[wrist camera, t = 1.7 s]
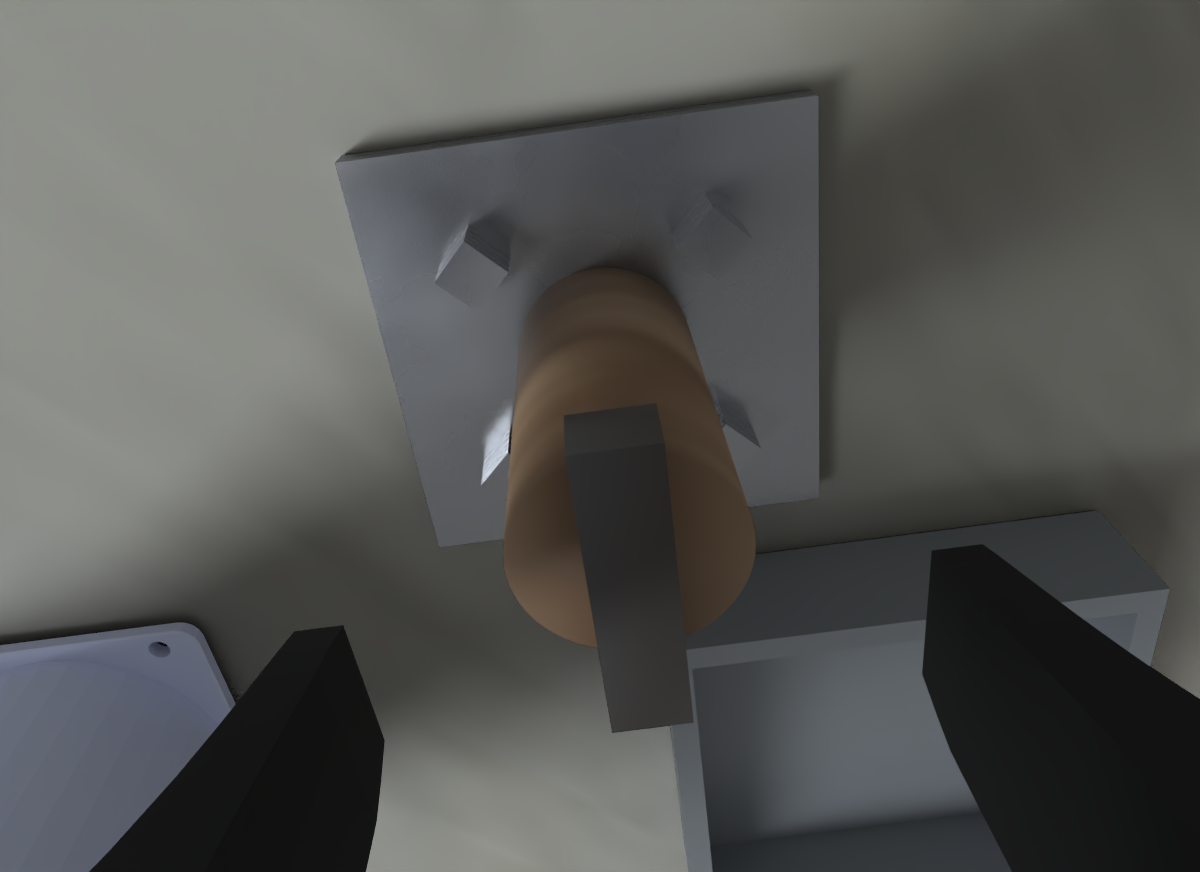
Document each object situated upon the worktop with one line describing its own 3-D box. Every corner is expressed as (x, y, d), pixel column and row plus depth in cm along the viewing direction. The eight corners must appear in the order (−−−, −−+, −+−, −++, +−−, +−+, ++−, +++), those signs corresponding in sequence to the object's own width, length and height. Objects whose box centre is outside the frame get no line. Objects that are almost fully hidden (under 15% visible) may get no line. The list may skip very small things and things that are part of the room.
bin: (684, 846, 28) (698, 941, 26) (650, 567, 23) (663, 652, 20) (1042, 802, 28) (1092, 893, 25) (1098, 510, 22) (1170, 588, 20)
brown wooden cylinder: (538, 457, 20) (531, 742, 13) (499, 251, 18) (465, 468, 11) (698, 436, 20) (775, 712, 13) (680, 226, 18) (765, 429, 11)
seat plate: (442, 532, 22) (434, 574, 20) (341, 155, 17) (322, 176, 16) (812, 484, 21) (830, 523, 20) (810, 89, 17) (833, 105, 16)
